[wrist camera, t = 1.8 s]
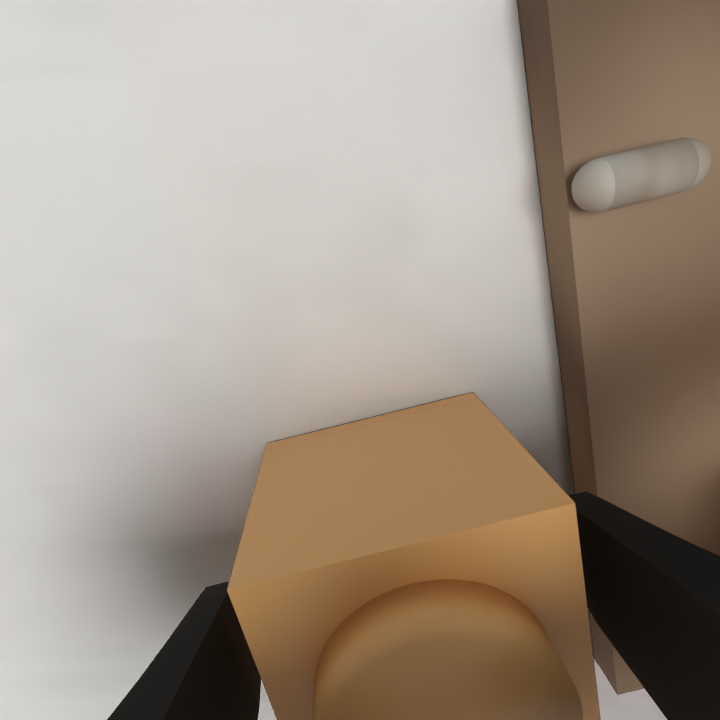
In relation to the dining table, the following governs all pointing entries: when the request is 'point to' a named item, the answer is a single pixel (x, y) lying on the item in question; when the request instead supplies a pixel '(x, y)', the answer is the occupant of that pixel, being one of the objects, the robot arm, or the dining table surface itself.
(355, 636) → the cube with round boss
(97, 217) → the dining table surface
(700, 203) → the junction board
